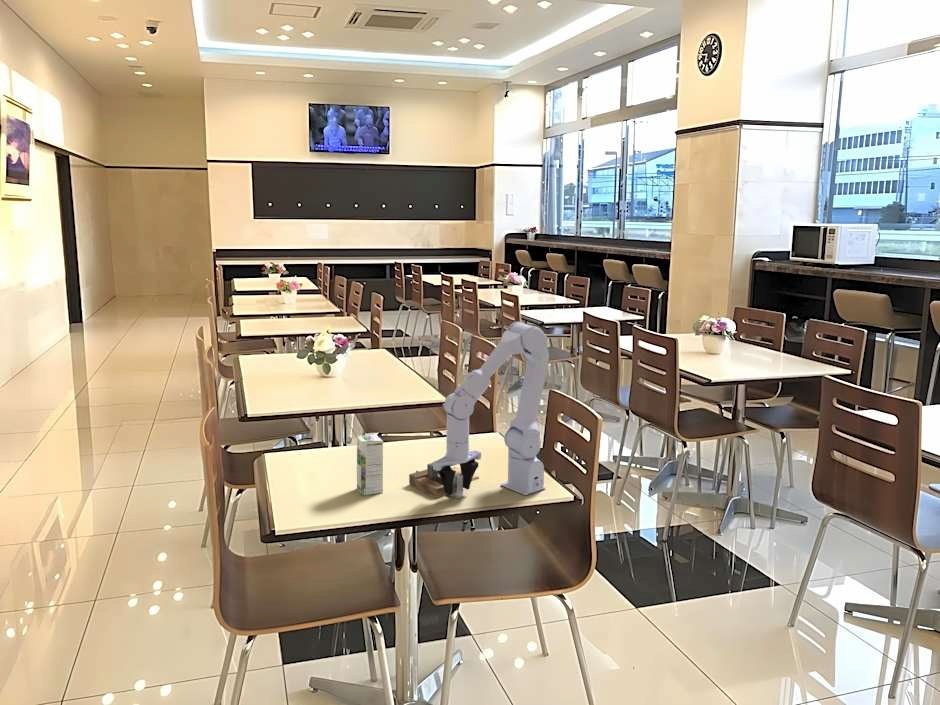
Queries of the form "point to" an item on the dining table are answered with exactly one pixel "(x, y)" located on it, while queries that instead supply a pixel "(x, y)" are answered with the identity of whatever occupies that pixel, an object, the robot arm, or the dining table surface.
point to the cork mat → (460, 473)
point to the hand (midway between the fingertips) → (457, 490)
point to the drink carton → (369, 464)
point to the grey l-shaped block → (457, 486)
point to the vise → (428, 481)
